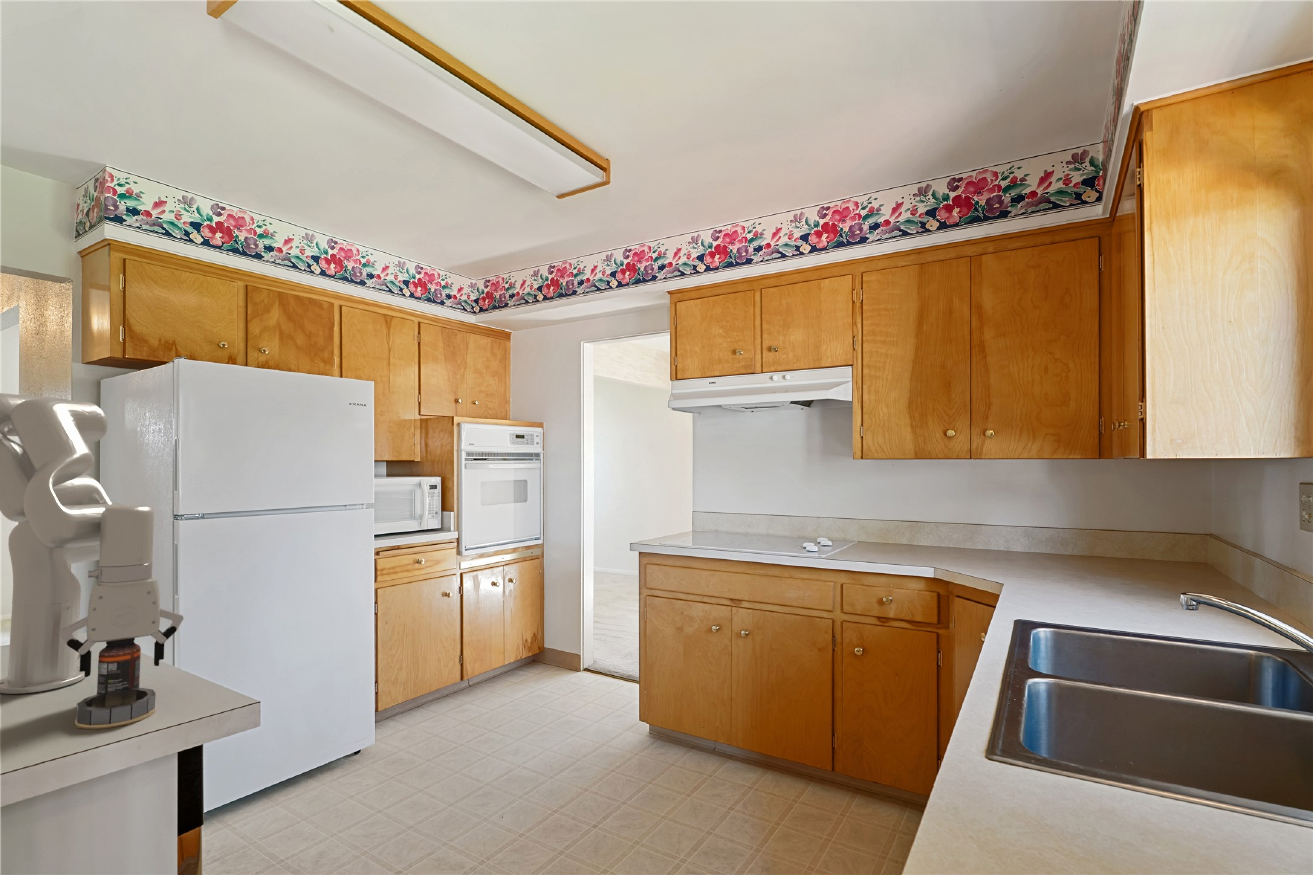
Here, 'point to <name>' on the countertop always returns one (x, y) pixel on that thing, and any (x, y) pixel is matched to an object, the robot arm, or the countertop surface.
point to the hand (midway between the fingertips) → (122, 669)
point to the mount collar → (115, 708)
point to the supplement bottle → (119, 666)
